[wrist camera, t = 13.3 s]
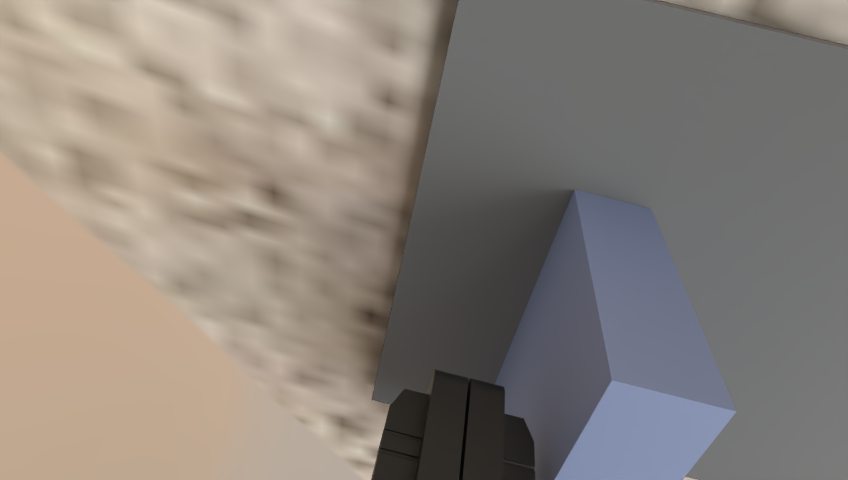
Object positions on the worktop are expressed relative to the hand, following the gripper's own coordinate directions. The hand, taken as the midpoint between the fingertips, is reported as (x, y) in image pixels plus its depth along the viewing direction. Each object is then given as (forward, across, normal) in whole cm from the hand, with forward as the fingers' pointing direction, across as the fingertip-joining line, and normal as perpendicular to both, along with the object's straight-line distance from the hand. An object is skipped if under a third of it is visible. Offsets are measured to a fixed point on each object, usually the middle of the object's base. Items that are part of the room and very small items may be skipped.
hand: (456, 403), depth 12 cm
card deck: (+5, -3, +1) cm, 6 cm away
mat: (+5, -6, -1) cm, 8 cm away
